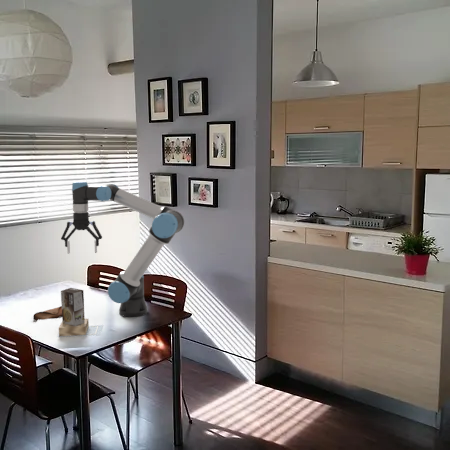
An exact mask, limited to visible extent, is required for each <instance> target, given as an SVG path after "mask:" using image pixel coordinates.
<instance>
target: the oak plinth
mask: <svg viewBox="0 0 450 450" xmlns="http://www.w3.org/2000/svg"><path fill="white" fill-rule="evenodd" d="M89 326H90V324H89V318H85V323H83V324H80V325H77V326H73V325H69V324H65V323H63V321H62V320H61V323H60V325H59V327H58V333H59V336H71V337H75V336H74V335H86V332H87V330H88V327H89Z"/></svg>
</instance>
